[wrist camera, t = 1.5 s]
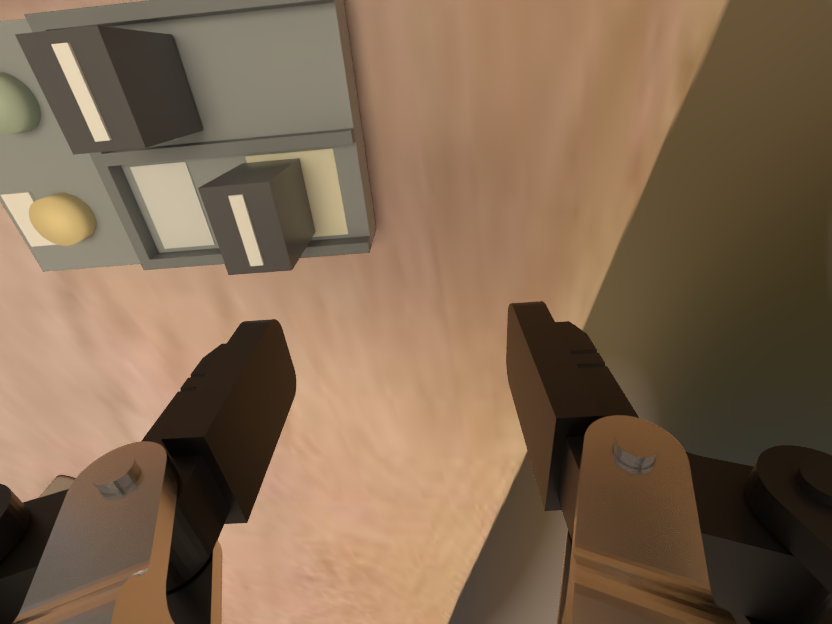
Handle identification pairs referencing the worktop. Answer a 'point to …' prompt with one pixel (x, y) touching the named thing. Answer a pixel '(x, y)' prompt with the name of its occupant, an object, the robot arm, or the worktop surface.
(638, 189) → the worktop surface
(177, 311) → the worktop surface
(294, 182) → the block
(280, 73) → the breaker panel
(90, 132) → the breaker
